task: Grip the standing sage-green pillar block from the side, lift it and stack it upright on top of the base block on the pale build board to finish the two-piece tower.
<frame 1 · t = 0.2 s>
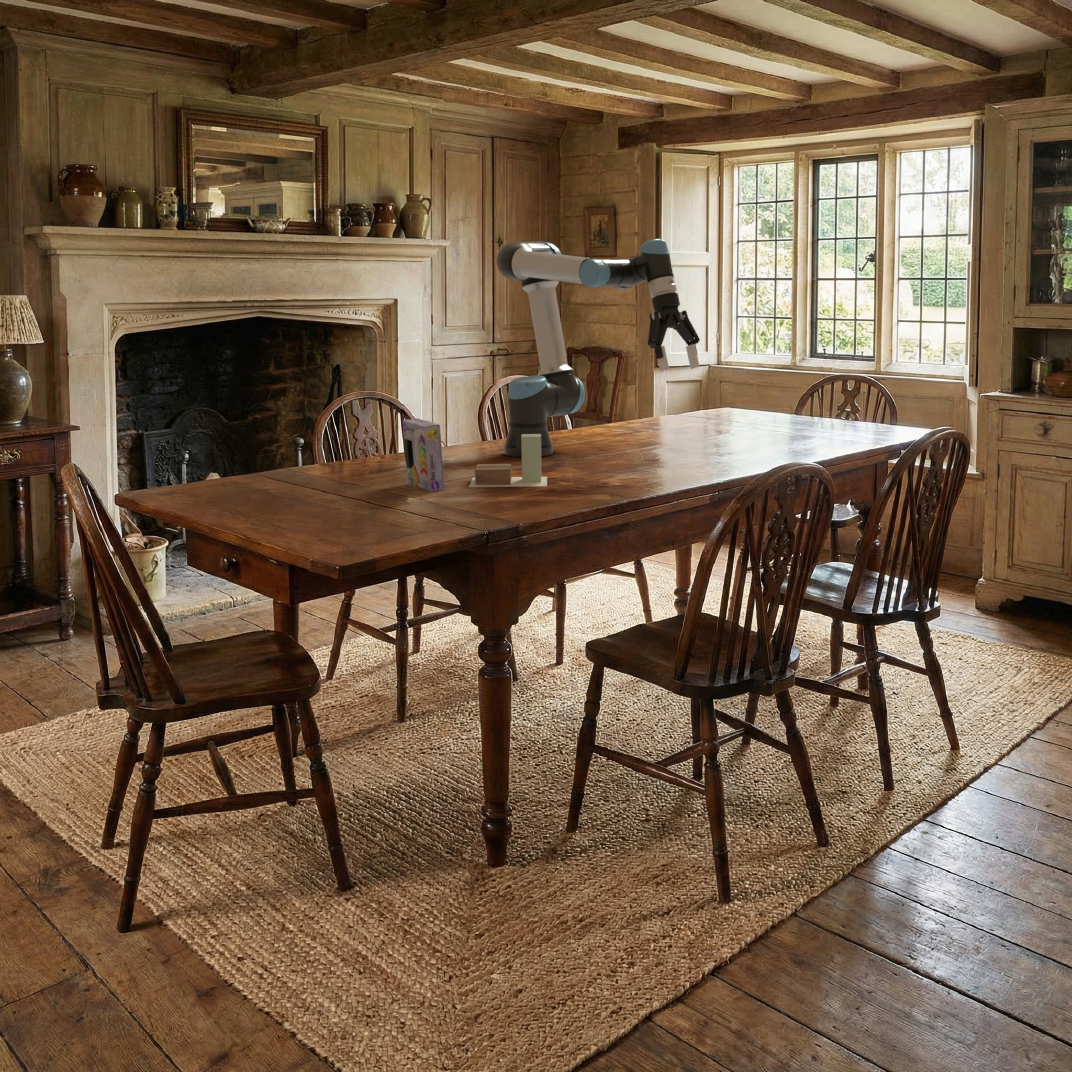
hand: (680, 368, 327), 27 cm above the table, tool tilted 15°, fingers open, 13 cm apart
pillar: (531, 480, 306), point 1 cm above the table, touching build board
base block: (493, 481, 305), point 1 cm above the table, touching build board
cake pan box: (424, 489, 303), on the table
build board: (509, 485, 305), on the table
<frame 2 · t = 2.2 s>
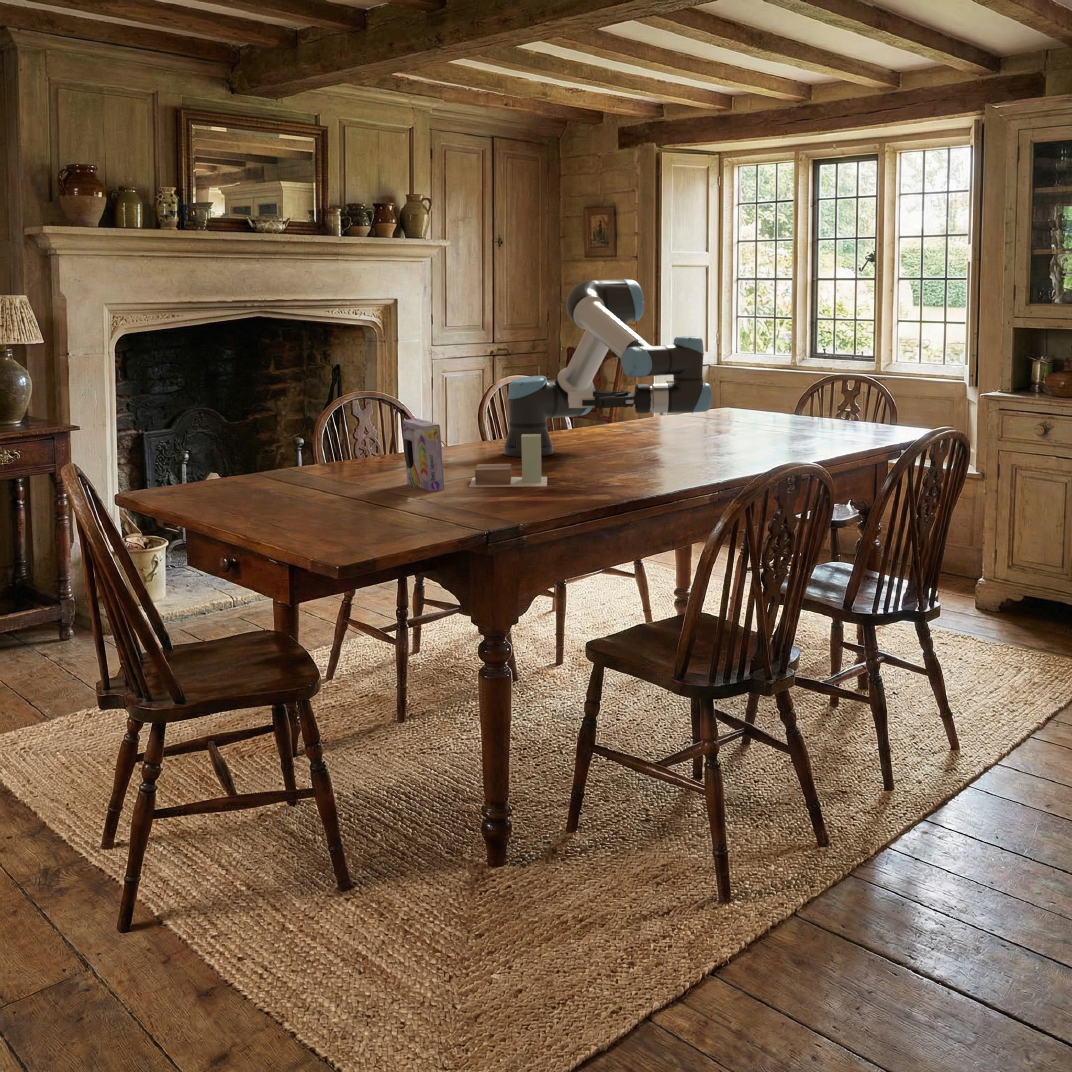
hand: (568, 399, 301), 22 cm above the table, tool horizontal, fingers open, 13 cm apart
nothing on the table moved.
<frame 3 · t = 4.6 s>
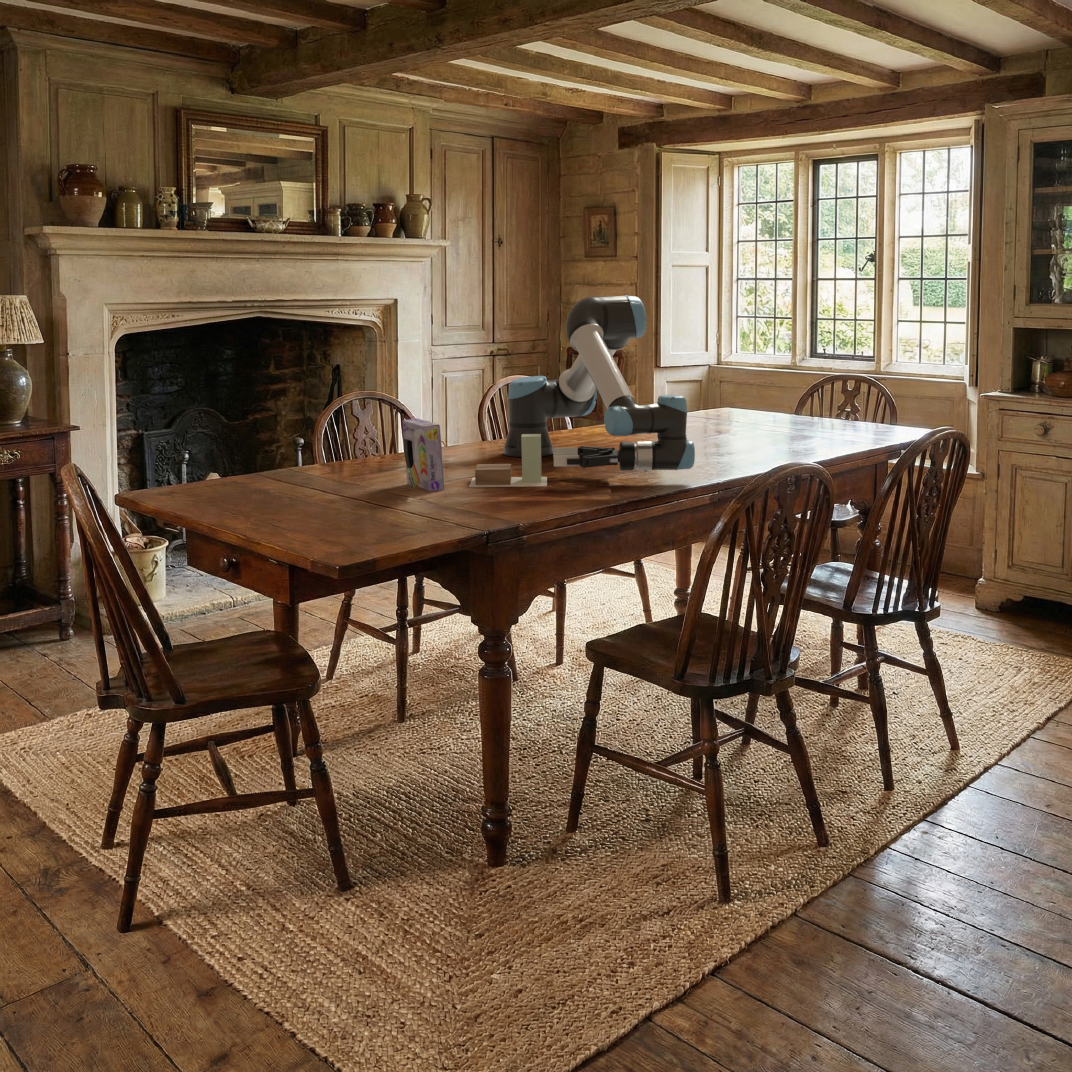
hand: (553, 457, 304), 7 cm above the table, tool horizontal, fingers open, 13 cm apart
nothing on the table moved.
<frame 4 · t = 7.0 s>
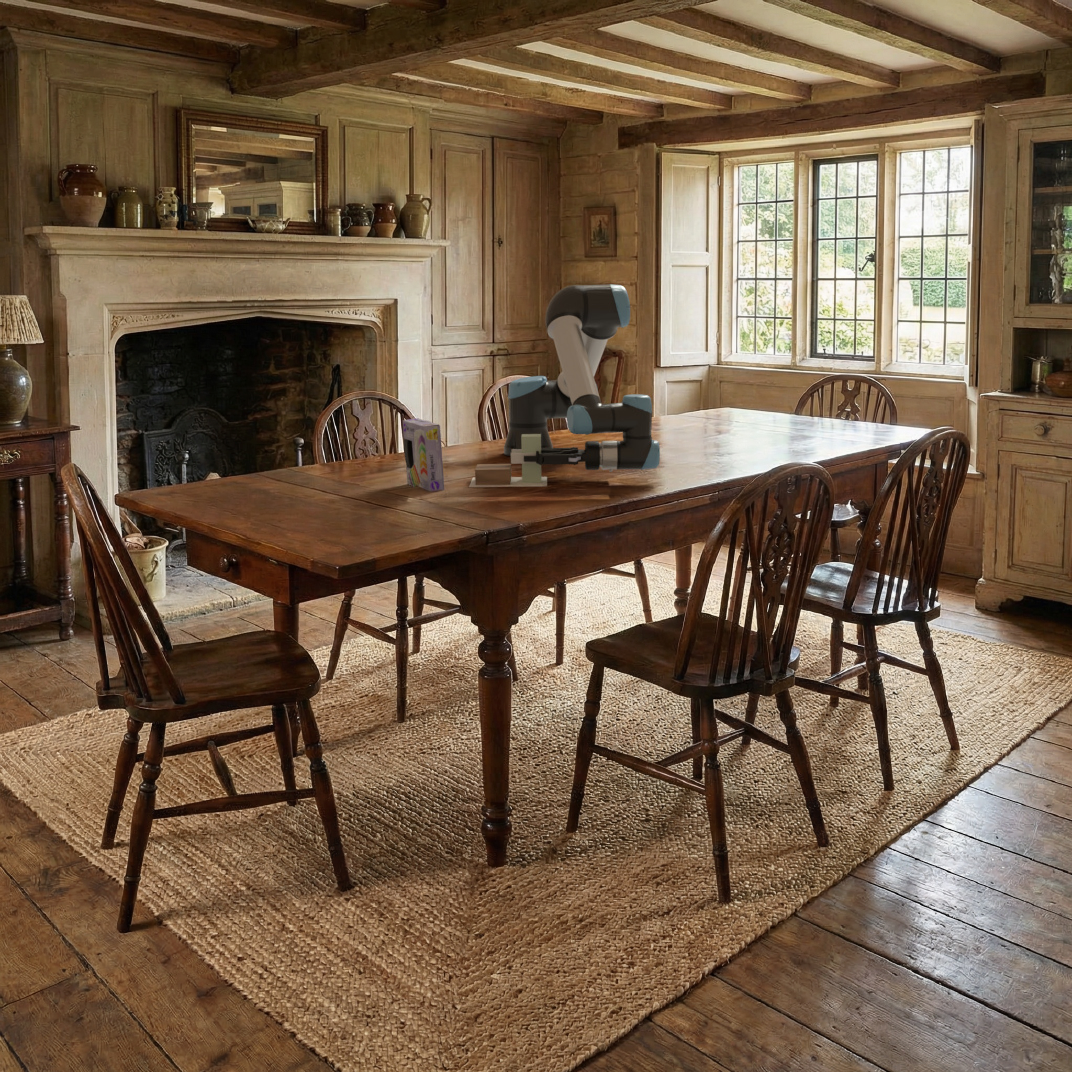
hand: (511, 456, 304), 7 cm above the table, tool horizontal, fingers closed on pillar, 5 cm apart
pillar: (531, 480, 306), point 1 cm above the table, touching build board, gripper
everything else where it was.
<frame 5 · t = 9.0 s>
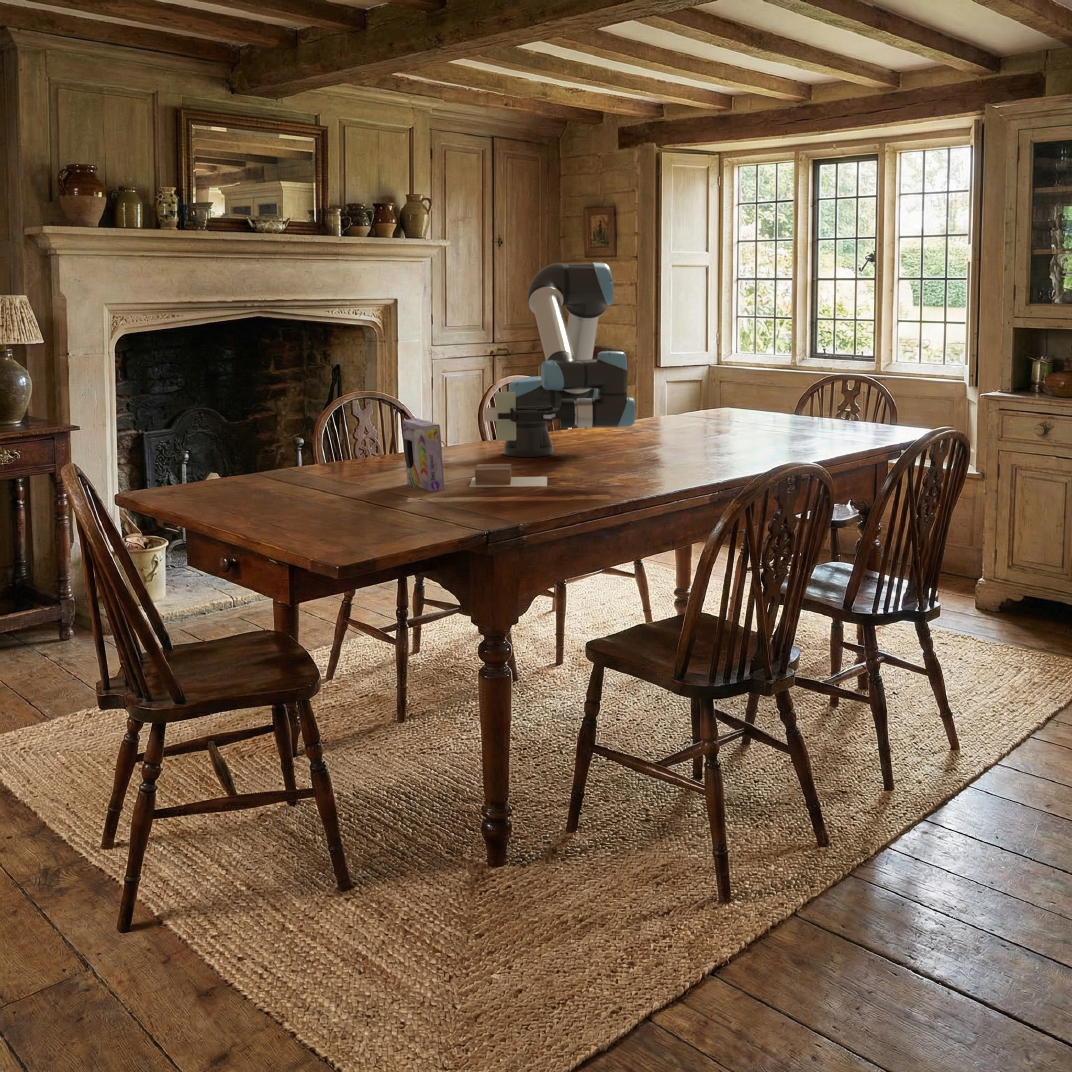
hand: (485, 414, 301), 19 cm above the table, tool horizontal, fingers closed on pillar, 5 cm apart
pillar: (506, 439, 302), point 12 cm above the table, touching gripper
everything else where it was.
when the fingers open (12 cm above the table, at t = 11.1 s): pillar stays where it is, resting on base block.
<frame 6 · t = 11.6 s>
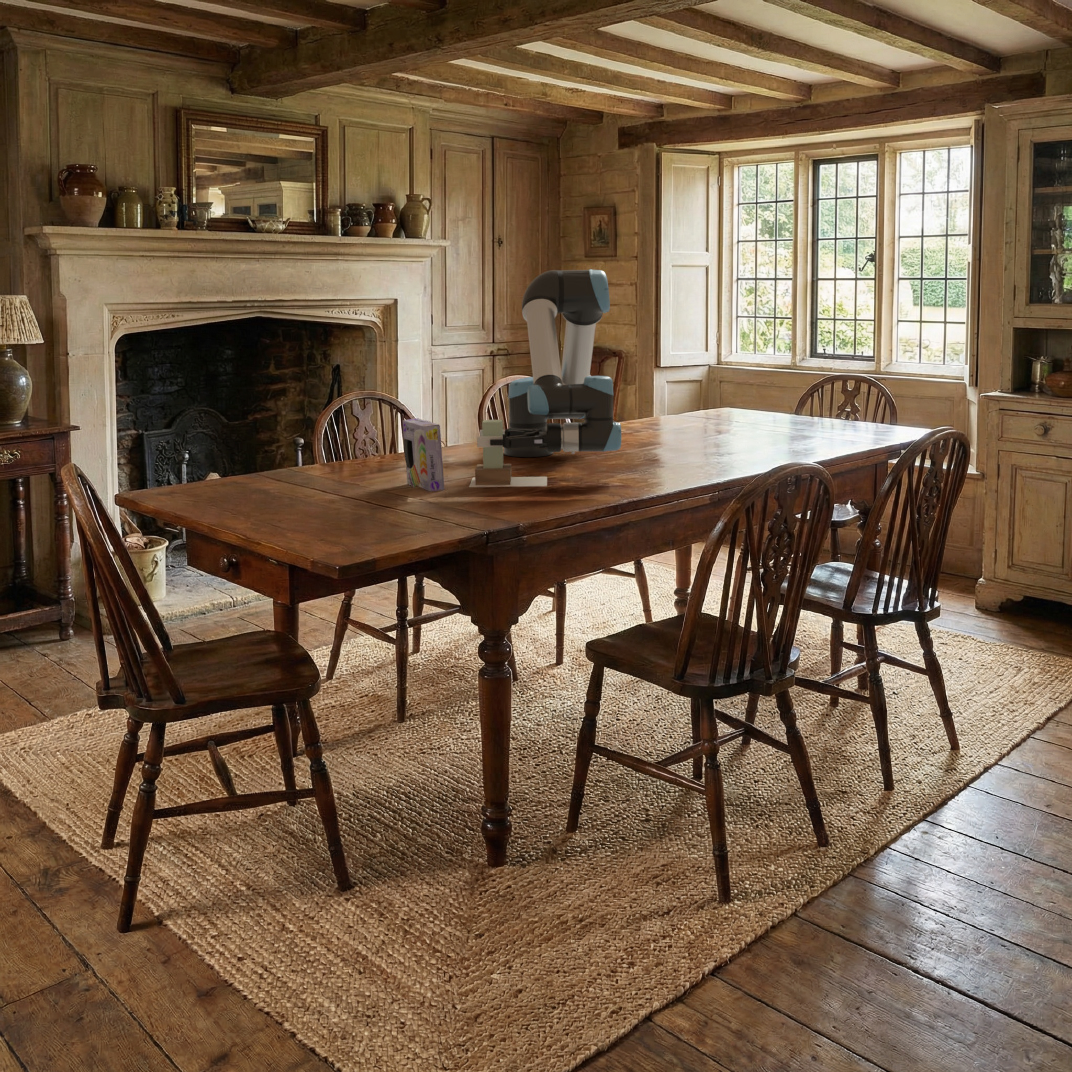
hand: (478, 438, 302), 12 cm above the table, tool horizontal, fingers open, 12 cm apart
pillar: (493, 466, 304), point 5 cm above the table, touching base block
base block: (493, 481, 305), point 1 cm above the table, touching build board, pillar
everything else where it was.
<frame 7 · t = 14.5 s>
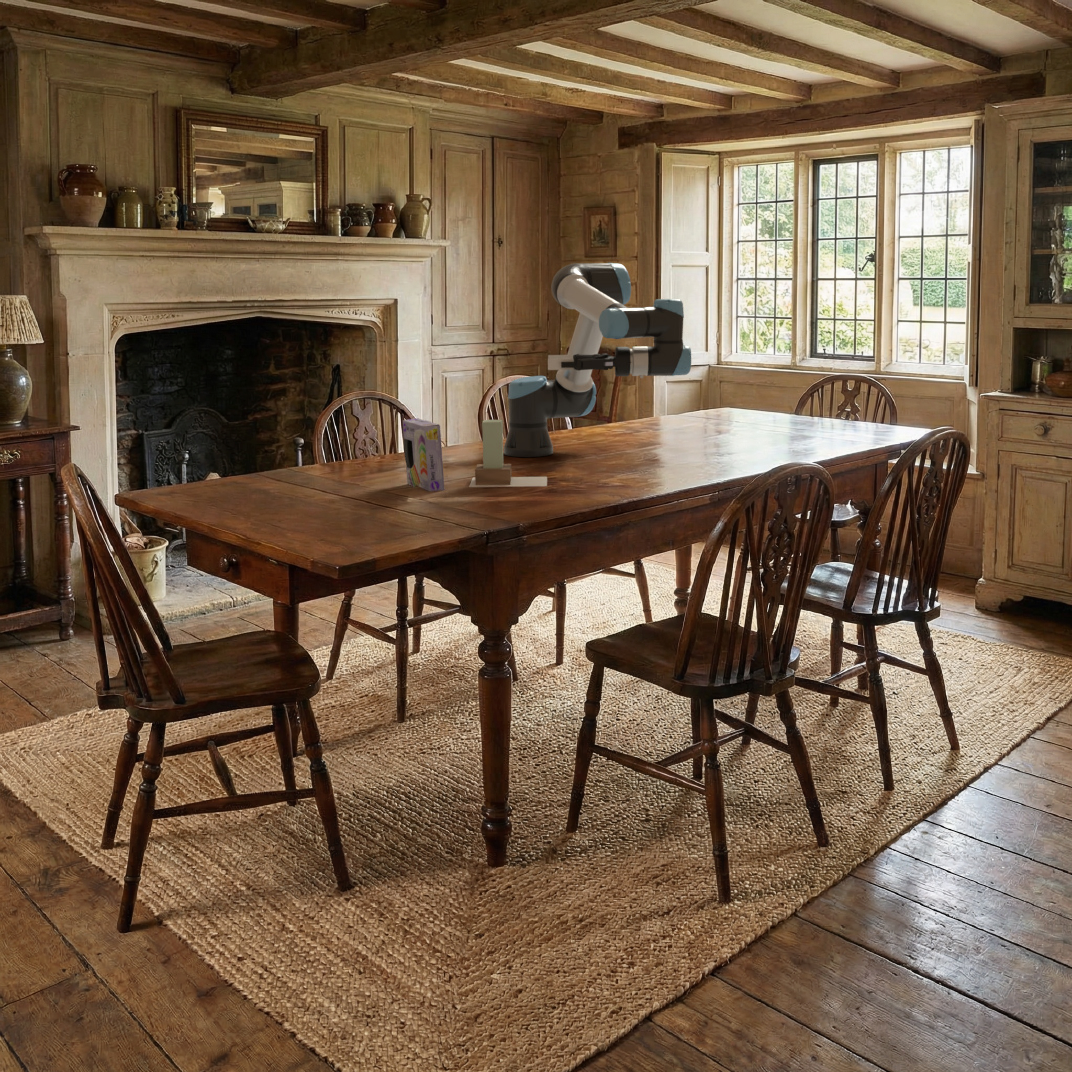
hand: (547, 362, 300), 32 cm above the table, tool horizontal, fingers open, 13 cm apart
nothing on the table moved.
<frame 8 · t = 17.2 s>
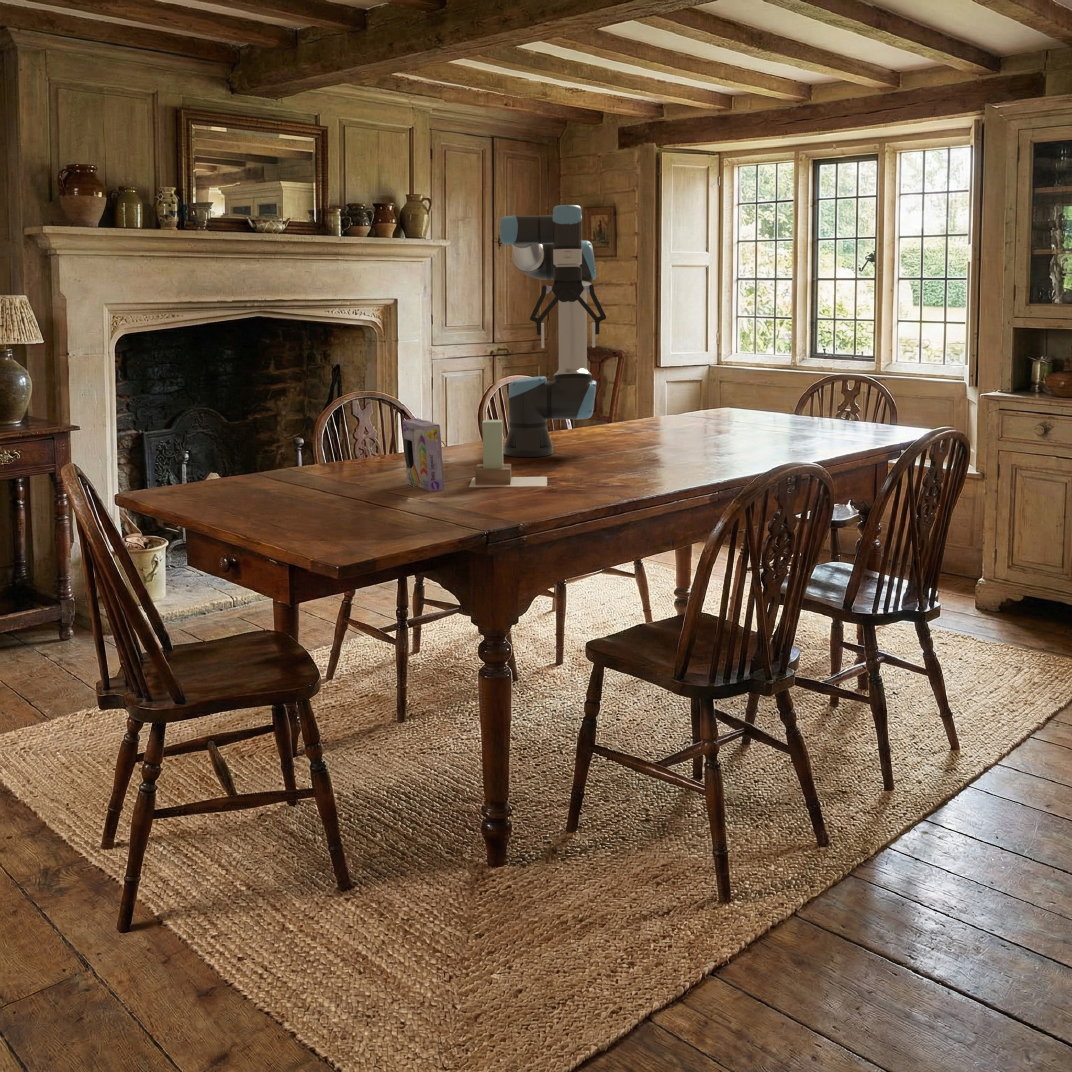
hand: (568, 347, 311), 35 cm above the table, tool pointing down, fingers open, 13 cm apart
nothing on the table moved.
at the end: pillar 0.0 cm off-centre on the base block, point 4.0 cm above the base block's base; pillar tilted 0°; the gripper is holding nothing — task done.
